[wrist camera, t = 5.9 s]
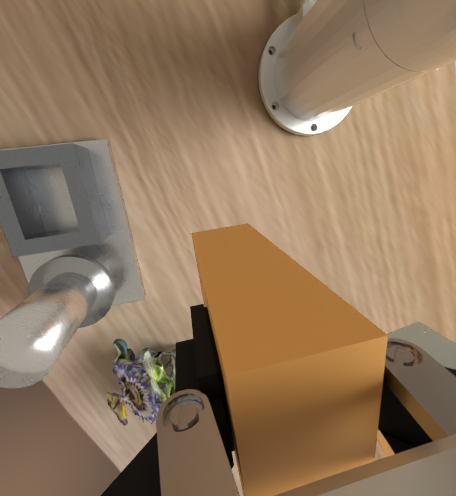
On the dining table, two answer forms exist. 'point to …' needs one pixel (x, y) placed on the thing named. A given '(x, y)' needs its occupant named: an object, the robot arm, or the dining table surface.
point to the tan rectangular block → (288, 363)
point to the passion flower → (141, 382)
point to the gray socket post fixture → (62, 250)
